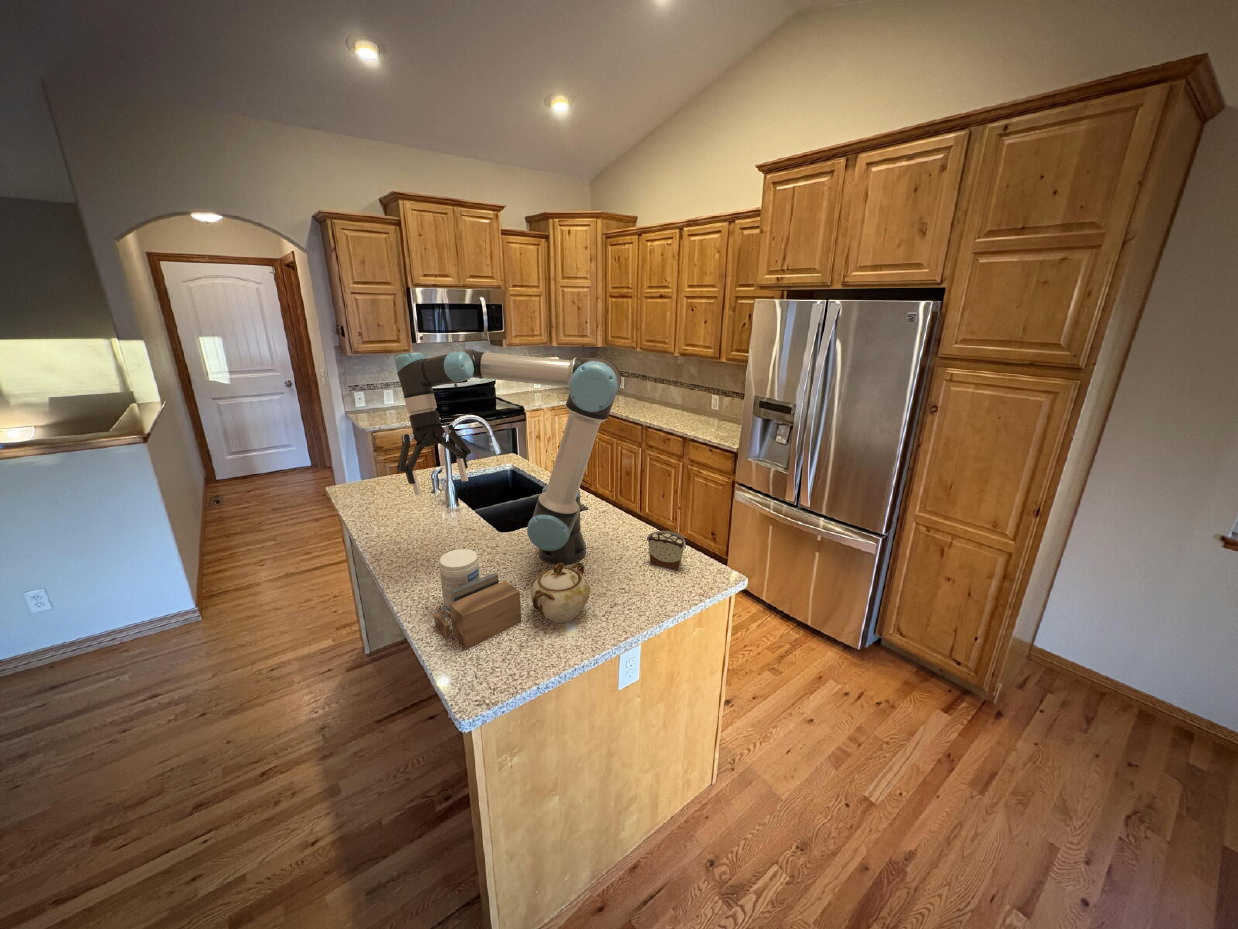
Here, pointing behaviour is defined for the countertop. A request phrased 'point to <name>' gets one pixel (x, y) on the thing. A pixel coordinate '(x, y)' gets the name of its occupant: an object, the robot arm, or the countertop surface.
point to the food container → (666, 549)
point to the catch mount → (482, 614)
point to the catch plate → (474, 587)
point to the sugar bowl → (561, 592)
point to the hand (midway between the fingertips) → (442, 487)
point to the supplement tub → (457, 572)
